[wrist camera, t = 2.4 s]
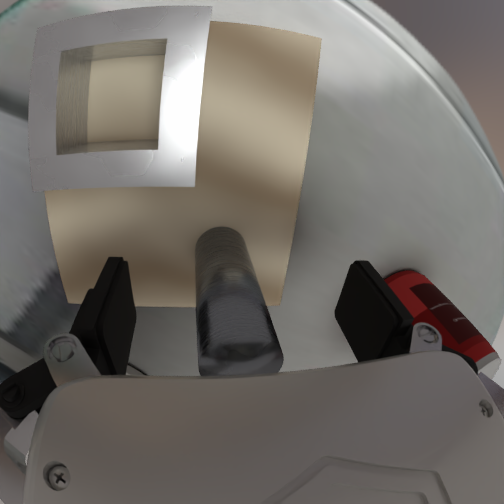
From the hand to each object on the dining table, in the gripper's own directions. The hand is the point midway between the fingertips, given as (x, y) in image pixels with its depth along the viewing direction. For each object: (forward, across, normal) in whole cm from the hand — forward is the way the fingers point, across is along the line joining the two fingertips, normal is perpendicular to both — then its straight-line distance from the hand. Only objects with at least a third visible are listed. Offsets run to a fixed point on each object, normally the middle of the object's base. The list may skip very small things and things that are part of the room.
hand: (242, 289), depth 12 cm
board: (+6, +4, -3) cm, 8 cm away
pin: (+5, +1, +1) cm, 5 cm away
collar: (+5, +6, -7) cm, 10 cm away
